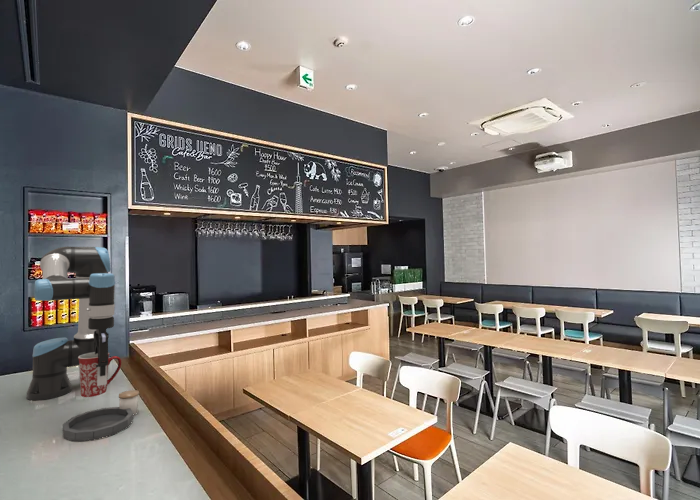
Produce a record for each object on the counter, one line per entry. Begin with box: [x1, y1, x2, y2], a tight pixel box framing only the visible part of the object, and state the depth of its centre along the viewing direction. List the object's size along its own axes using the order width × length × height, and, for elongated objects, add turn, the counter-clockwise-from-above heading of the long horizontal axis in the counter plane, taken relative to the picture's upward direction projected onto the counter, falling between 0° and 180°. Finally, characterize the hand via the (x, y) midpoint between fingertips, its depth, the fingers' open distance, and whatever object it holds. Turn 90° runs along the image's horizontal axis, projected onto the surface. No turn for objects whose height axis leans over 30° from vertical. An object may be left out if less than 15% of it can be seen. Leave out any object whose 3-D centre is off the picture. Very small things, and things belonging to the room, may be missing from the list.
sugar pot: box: [118, 389, 140, 415], centre depth 139 cm, size 7×7×8 cm
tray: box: [62, 406, 134, 443], centre depth 128 cm, size 20×20×3 cm
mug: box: [78, 351, 122, 398], centre depth 128 cm, size 13×9×14 cm
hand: (100, 381), depth 128 cm, fingers closed on mug, 8 cm apart
